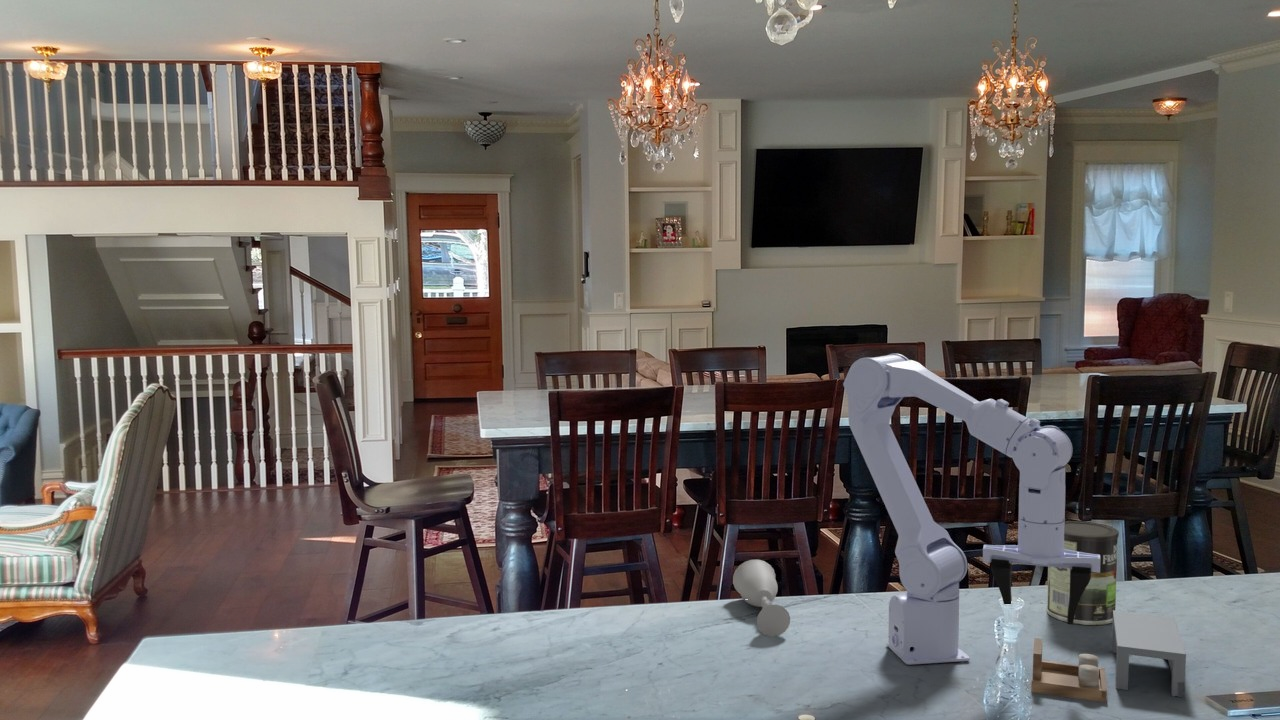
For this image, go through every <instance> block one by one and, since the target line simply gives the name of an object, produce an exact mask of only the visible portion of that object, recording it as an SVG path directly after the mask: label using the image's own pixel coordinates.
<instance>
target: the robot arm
mask: <svg viewBox="0 0 1280 720" xmlns="http://www.w3.org/2000/svg"><path fill="white" fill-rule="evenodd" d="M843 381H844V382H843V383H842V386H843V387H844V389H845V392H846V394H847V400H848V401H847V402H848V403H847V404H848V405H847V407H848V409H847V410H848V413H847V414H848V424H849V428H850V431H851V432H852V435H853V438H854V439H855V441H856V443H857V446H858V448H859V450H860V453H861V455H862V457H863V460H864V462H865V464H866V466H867V468H868V470H869V472H870V475H871V477H872V479H873V481H874V484H875V486H876V488H877V491H878V493H879V495H880V497H881V499H882V502H883V503H884V504H883V505H885V509H886V510H887V513H888V515H889V518H890V519H891V521H892V524H893V526H894V528H895V531H896V533H897V535H898V538H897V541H896V546H895V549H894V553H895V556H896V559H897V561H898V569H899V570H898V571H899V572H898V573H899V579H900V582H901V584H902V586H903V587H904V589H905V590H906V591H905V592H903V593H900V594H895V595H892V596H891V597H890V600H889V604H888V641H886V646H887V647H888V648H889V649H890V650H891V651H892V652H893V653H894V654H895V655H896V656H897V657H898V658H900V660H901V661H902V662H903V663H904V664H906V665H908V666H909V665H922V664H923V665H925V664H939V663H941V664H942V663H954V662H955V663H956V662H969V661H970V660H971V658H970V656H969V655H968V654H967V653H965V652H964V651H963V650H962V649H960V648H959V639H960V638H959V636H960V635H959V633H960V632H959V631H960V630H959V629H960V582H961V581H962V580H963V579H964V578H965V576H966V575H967V571H968V560H967V557H966V556H967V555H966V554H965V553H964V551H963V550H962V549H961V548H960V547H959V546H958V545H957V544H956V543H955V542H954V541H953V539H952V538H951V536H950V534H949V532H948V531H947V530H946V529H945V528H944V527H943V526H942V525H940V524H938V523H937V522H936V521H935V520H934V519H933V516H932V514H931V512H930V509H929V507H928V505H927V504H926V502H925V498H924V497H923V495H922V493H921V490H920V488H919V486H918V484H917V481H916V480H915V478H914V475H913V473H912V470H911V468H910V467H909V464H908V462H907V460H906V458H905V455H904V454H903V451H902V449H901V447H900V444H899V442H898V440H897V438H896V435H895V434H894V431H893V429H892V427H891V425H890V420H891V418H892V416H893V414H894V412H895V409H896V406H897V405H899V403H900V402H901V401H902V400H903V399H904V398H907V397H908V398H910V397H915V398H919V399H920V400H922V401H924V402H926V403H929V404H931V405H932V406H935V407H936V408H938V409H941V410H942V411H944V412H946V413H948V414H950V415H951V416H954V417H956V418H958V419H960V420H961V421H964V422H965V424H966V426H967V430H968V433H969V434H970V435H971V436H973V437H975V438H976V439H977V440H980V441H981V442H983V443H985V444H986V445H988V446H990V447H991V448H993V449H995V450H997V451H999V452H1000V453H1002V454H1004V455H1006V457H1008V458H1012V460H1013V461H1012V462H1014V464H1015V466H1016V468H1017V469H1018V470H1019V471H1018V472H1019V484H1018V487H1019V488H1018V522H1017V523H1018V525H1017V527H1018V528H1017V529H1018V530H1017V545H1016V544H1004V545H1003V544H1002V545H1000V544H995V545H993V544H983V548H982V562H983V563H991V565H990V571H991V574H992V576H993V578H994V580H995V582H996V585H997V587H998V590H999V592H1000V596H1001V598H1002V601H1003V605H1004V604H1011V601H1013V599H1012V571H1013V570H1012V569H1013V567H1012V566H1013V565H1012V564H1018V565H1026V566H1027V565H1030V566H1037V567H1038V566H1039V567H1047V568H1048V567H1059V568H1069V569H1070V595H1069V604H1068V616H1067V622H1066V624H1067V625H1074V623H1073V621H1074V615H1075V612H1076V608H1077V606H1078V603H1079V600H1080V598H1081V596H1082V594H1083V592H1084V590H1085V588H1086V587H1087V585H1088V584H1089V581H1090V579H1091V572H1097V573H1100V555H1098V554H1090V553H1083V552H1077V551H1072V550H1066V549H1064V523H1065V521H1066V519H1065V517H1066V516H1065V515H1066V511H1065V510H1066V466H1065V465H1067V464H1068V463H1069V462H1070V460H1071V458H1072V457H1073V452H1074V451H1073V449H1074V448H1073V443H1072V442H1071V439H1070V438H1069V436H1068V435H1067V434H1066V432H1064V431H1062V430H1061V429H1060V428H1059V427H1058V426H1056V425H1044V426H1041V421H1040V420H1039V419H1037V418H1035V417H1033V418H1028V417H1026V416H1025V415H1023V414H1020V413H1019V412H1017V411H1015V410H1013V409H1012V408H1010V407H1009V405H1010V402H1008V401H1007V400H1004V399H1003V398H1000V399H997V400H995V399H993V398H988V399H984V400H981V401H979V400H977V399H976V398H974V397H973V396H971V395H969V394H968V393H966V392H965V391H963V390H961V389H960V388H958V387H956V386H955V385H953V384H951V383H950V382H949V381H947V380H945V379H943V378H942V377H940V376H938V374H935V372H932V371H930V370H929V369H928V368H926V367H925V366H924V365H922V364H921V363H920V362H918V361H917V360H912V359H909V358H908V357H906V356H905V355H903V354H902V353H901V354H900V353H889V354H886V355H880V356H875V357H862V358H861V357H860V358H859V359H857V360H856V361H854V362H853V363H852V364H851V366H850V368H849V370H848V371H847V374H846V376H845V379H844V380H843Z"/></svg>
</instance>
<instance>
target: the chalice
mask: <svg viewBox="0 0 1280 720" xmlns="http://www.w3.org/2000/svg"><path fill="white" fill-rule="evenodd" d="M776 576H777V575H776V573H775V569H774V567H772V565H771V564H769V563H768V562H766V561H765V560H761V559H749V560H746V561H744V562H743V563H741V564H739V565H738V567H736V569H735V571H734V573H733V575H732V584H733V587H734V589H735V590H736V591H737V593H739V594H740V596H741V598H742V600H744V599H748V600H744V602H746V603H747V604H749V605H751V606H753V607H758V608H760V607H761V610H760V612H759V613H758V615H757V618H756V624H757V627H758V629H759V631H760V632H761V633H762V634H764V635H765V636H767V637H777V636H781V635H782V634H784V633H785V632H786V631H787V630H788V629H789V626H790V623H791V617H790V613H789V611H788V610H787V609H786V608H785V607H783V606H782V605H779V604H772V603H773V602H774V600H775V598H776V595H778V590H779V589H778V588H779V587H778V582H777V580H776Z"/></svg>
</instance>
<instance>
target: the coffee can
mask: <svg viewBox="0 0 1280 720" xmlns="http://www.w3.org/2000/svg"><path fill="white" fill-rule="evenodd" d="M1119 532H1120V531H1119V530H1118V529H1116V528H1115V527H1112V526H1110V525H1107V524H1103V523H1097V522H1091V521H1081V520H1065V523H1064V549H1066V550H1072V551H1077V552H1083V553H1090V554H1098V555H1100V573H1097V572H1091V579H1090V581H1089V584H1088V585H1087V587H1086V588H1085V590H1084V592H1083V594H1082V596H1081V598H1080V600H1079V603H1078V606H1077V608H1076V612H1075V615H1074V621H1073V625H1075V624H1076V625H1081V626H1082V625H1084V626H1103V625H1108V624H1112V622H1113V610H1115V611H1116V606H1117V605H1116V603H1117V602H1116V600H1117V568H1118V567H1117V566H1118V542H1119V541H1118V540H1119V539H1118V538H1119ZM1069 595H1070V569H1069V568H1059V567H1048V566H1047V595H1046V596H1047V601H1046V603H1047V605H1046V613H1047V614H1048V615H1049V616H1051V617H1052V618H1054V619H1056V620H1059V621H1061V622H1065V623H1067V616H1068V604H1069Z"/></svg>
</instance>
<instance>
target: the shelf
mask: <svg viewBox="0 0 1280 720" xmlns="http://www.w3.org/2000/svg"><path fill="white" fill-rule="evenodd" d="M1111 624H1112V625H1111V626H1112V629H1111V633H1112V634H1111V653H1113V654H1116V661H1115V662H1116V665H1115V668H1116V669H1115V689H1118V690H1125V691H1128V690H1129V671H1130V670H1129V667H1130V664H1129V663H1130V656H1137V657H1144V658H1154V659H1162V660H1168V665H1169V669H1170V673H1171V689H1170V690H1171V691H1170V693H1171V696H1172V697H1175V696H1178V698H1183V697H1184V698H1185V689H1186V688H1185V686H1186V668H1187V667H1186V666H1187V665H1186V663H1187V661H1186V660H1187V654H1186V649H1185V646H1184V642H1183V639H1182V637H1181V633H1180V630H1179V627H1178V622H1177V620H1176V617H1175V616H1172V615H1171V616H1170V615H1160V614H1150V613H1142V612H1132V611H1131V612H1130V611H1122V610H1116V609H1115V610H1113V622H1112V623H1111Z"/></svg>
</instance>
